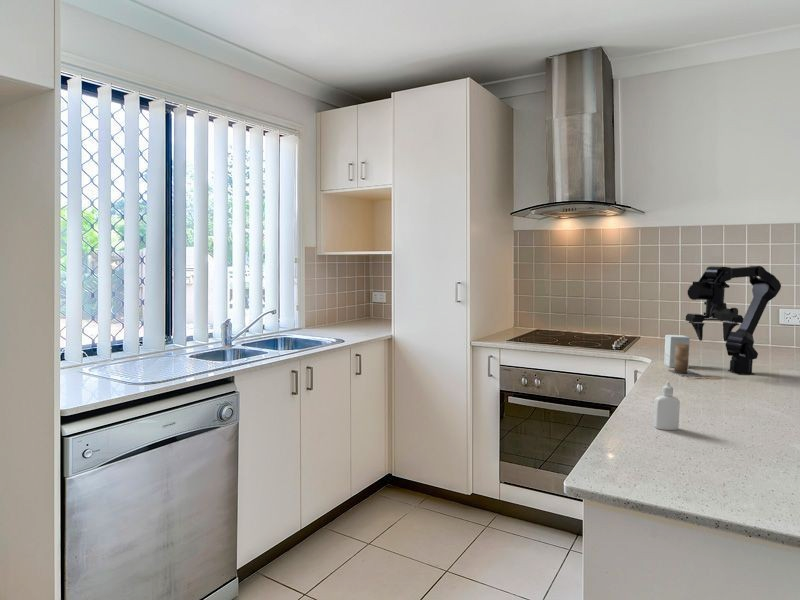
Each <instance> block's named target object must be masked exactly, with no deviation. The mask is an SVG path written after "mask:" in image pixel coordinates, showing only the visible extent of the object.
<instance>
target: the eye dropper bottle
mask: <svg viewBox="0 0 800 600" xmlns="http://www.w3.org/2000/svg"><path fill="white" fill-rule="evenodd" d="M661 394H662V395H659V396H657V397H655V399H654V408H653V409H654V410H653V411H654V412H653V427H655V428H656V429H657V430H662V431H677V430H678V429H679V426H680V424H679V423H680V399H679V398H677V397H675V396H674V387H673V386H672V385H671V382H670V381H666V383H665V385H664V386H663V385H662V392H661Z"/></svg>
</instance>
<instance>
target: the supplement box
mask: <svg viewBox="0 0 800 600" xmlns="http://www.w3.org/2000/svg"><path fill="white" fill-rule="evenodd" d="M664 340H665V341H664V356H663V357H664V358H663V364H664V365H665V366H667V367H668V368H673V367H675V346H676V343H682V344H688V345H689V346H690V343H691V342H690V341H691V340H690V337H689V336H686V335H683V334H665V338H664ZM689 359H690V349H689V350H688V364H690V363H689Z"/></svg>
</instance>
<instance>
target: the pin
mask: <svg viewBox="0 0 800 600" xmlns="http://www.w3.org/2000/svg"><path fill="white" fill-rule="evenodd" d="M688 350H689V351H690V344H689V345H688V344H682V343H676V346H675V367H674V368H673V370H674V372H675V373H678V374H687V370H689V363H688ZM675 373H674V374H675Z"/></svg>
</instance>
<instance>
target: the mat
mask: <svg viewBox="0 0 800 600" xmlns="http://www.w3.org/2000/svg"><path fill="white" fill-rule="evenodd" d="M670 371H671V372H670ZM668 372H670V373H672V372H673V373H672V374H675V372H674V369H668ZM677 374H678V373H676V374H675V375H677ZM680 375H681V376H680ZM677 376H680V377H682V376H704V375H703V374H700V373H697V372H695V371H692V370H689V369H688V370H687V374H678V375H677Z"/></svg>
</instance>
